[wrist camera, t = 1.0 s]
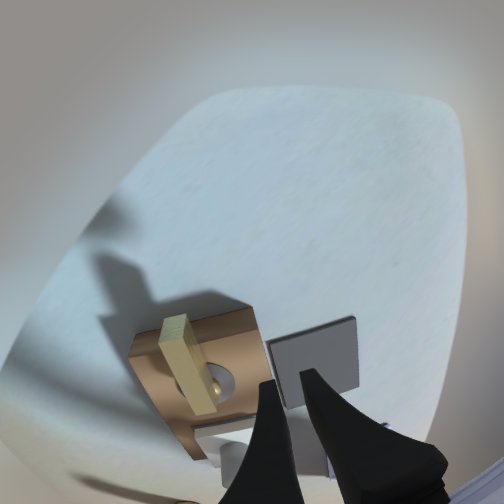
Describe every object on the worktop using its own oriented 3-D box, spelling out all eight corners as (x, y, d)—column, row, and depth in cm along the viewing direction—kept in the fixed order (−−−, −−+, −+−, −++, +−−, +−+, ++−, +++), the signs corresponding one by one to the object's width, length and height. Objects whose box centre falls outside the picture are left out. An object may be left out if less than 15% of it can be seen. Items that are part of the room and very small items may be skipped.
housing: (284, 419, 26) (291, 444, 23) (194, 438, 26) (194, 463, 23) (252, 306, 22) (258, 330, 19) (135, 334, 21) (126, 360, 18)
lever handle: (224, 393, 20) (226, 420, 18) (197, 398, 20) (197, 425, 17) (191, 312, 18) (188, 336, 15) (159, 319, 18) (152, 344, 15)
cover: (268, 448, 23) (277, 489, 19) (214, 459, 23) (216, 499, 19) (256, 417, 21) (264, 462, 17) (194, 429, 21) (194, 474, 17)
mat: (358, 384, 26) (359, 386, 26) (286, 407, 26) (287, 409, 25) (354, 316, 23) (356, 318, 23) (269, 342, 23) (269, 345, 23)
